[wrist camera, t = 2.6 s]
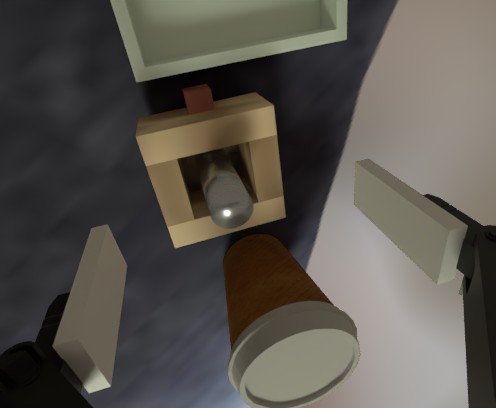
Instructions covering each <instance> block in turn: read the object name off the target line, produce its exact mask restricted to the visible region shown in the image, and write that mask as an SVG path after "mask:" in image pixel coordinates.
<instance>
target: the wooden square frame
mask: <svg viewBox="0 0 496 408" xmlns="http://www.w3.org/2000/svg"><path fill="white" fill-rule="evenodd" d="M182 91H183V95H184V99H185V103H186V106H187V107H186V108H182V109H177V110H172V111H168V112H163V113H159V114H154V115H150V116H145V117H141V118H138V125H137V131H136V139H137V142H138V145H139V148H140V151H141V153H142V156H143V159H144V162H145V165H146V167H147V170H148V173H149V176H150V179H151V182H152V184H153V187H154V190H155V193H156V196H157V199H158V201H159V204H160V207H161V210H162V213H163V215H164V218H165V221H166V224H167V227H168V230H169V232H170V235H171V238H172V241H173V244H174V247H175V248H178V247H181V246H185V245H189V244H192V243H196V242H199V241H203V240H207V239H210V238H214V237H217V236H221V235H225V234H228V233H232V232H235V231H239V230H242V229H246V228H250V227H253V226H257V225H260V224H264V223H268V222H271V221H275V220H278V219H282V218H286V214H285V205H284V195H283V186H282V177H281V168H280V158H279V149H278V140H277V131H276V122H275V112H274V105H273V104H271V103H270V102H268V101H267V100H266V99H264V98H263V97H261V96H260V95H259V94H257V93H256V92H254V93H250V94H245V95H241V96H236V97H232V98H227V99H223V100H218V101H213V98H212V93H211V89H210V88H209V87H208V85H207V84H203V85H198V86H193V87H189V88H184V89H182ZM236 144H238V145H239V150H240V156H241V162H242V167H243V173H244V178H243V179H241V181H242V183H243V185H244V187H245V188H246V190H247V192H248V194H249V196H250V198H251V199H252V202H253V213H252V215H251V217H250V218H249V220H248V221H247V222H246V223H245V224H243V225H241V226H239V227H237V228H233V229H225V228H221V227H219V226H217V225H216V224H215V223H214V222H213V221H212V219H211V217H210V213H209V210H208V206H207V203H206V199H205V196H204V192H203V189H200V190H196V191H192V192H189V190H188V187H187V183H186V180H185V176H184V173H183V169H182V166H181V162H180V159H179V158H182V157H187V156H191V155H195V154H199V153H203V152H207V151H212V150H216V149H220V148H224V147H228V146H232V145H236Z"/></svg>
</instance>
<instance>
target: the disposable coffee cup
mask: <svg viewBox="0 0 496 408" xmlns="http://www.w3.org/2000/svg"><path fill="white" fill-rule="evenodd" d="M223 269H224V278H225V289H226V300H227V311H228V322H229V333H230V343H231V354H230V360H229V364H228V375H229V379H230V382H231V383H232V385H233V387H234V388H235V389H236V390H238V391H239V393H240V395H241V398H242V399H243V400H244V402H245V403H246V404H247V405H249V406H250V407H252V408H301V407H303V406H306V405H309V404H311V403H313V402H316V401H318V400H320V399H322V398H323V397H325V396H326V395H328V394H330V393H331V392H333V391H334V390H335V389H337V388H338V387H339V386H340V385H341V384H343V383H344V382H345V381H346V379H347V378H348V377H349V376H350V375H351V374H352V372H353V371H354V369H355V368H356V366H357V364H358V360H359V357H360V348H359V343H358V340H357V328H356V326H355V324H354V322H353V320H352V319H351V318H350V317H349V316H348V315H347V314H346V313H345V312H343V311H341V310H339V308H337V307H335V306H334V305H333V304H332V303H331V302H330V301H329V299H328V298H327V297H326V296H325V294H324V293H323V292H322V291H321V290H320V288H319V287H318V286H317V285H316V284H315V282H314V281H313V280H312V279H311V278H310V276H308V274H307V273H306V272H305V270H304V269H303V268H302V267H301V266H300V264H299V263H298V262H297V261H296V260H295V259H294V257H293V256H292V255H291V254H290V253H289V251H288V250H287V249H286V248H285V247H284V245H283V244H282V243H281V242H280V241H279V240H278V239H277V238H275V237H273V236H271V235H267V234H254V235H249V236H247V237H244V238H242V239H240V240H239V241H237V242H236V243H235V244H233V245H232V246H231V247H230V249H229V250H228V251H227V253H226V255H225V257H224V261H223Z"/></svg>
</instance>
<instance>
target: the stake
mask: <svg viewBox="0 0 496 408" xmlns="http://www.w3.org/2000/svg"><path fill="white" fill-rule="evenodd" d="M179 159H180V162H181V166H182V169H183V173H184V176H185V180H186V183H187V187H188V190H189V192H192V191H196V190H200V189H203V192H204V196H205V199H206V203H207V206H208V210H209V213H210V217H211V219H212V221H213V222H214V223H215V224H216V225H217V226H219V227H221V228H225V229H233V228H237V227H239V226H241V225H243V224H245V223H246V222H247V221H248V220H249V218H250V217H251V215H252V213H253V202H252V199H251V198H250V196H249V194H248V192H247V190H246V188H245V187H244V185H243V183H242V181H241V179H243V178H244V173H243V167H242V162H241V156H240V150H239V145H238V144H236V145H232V146H228V147H224V148H220V149H216V150H212V151H207V152H203V153H199V154H195V155H191V156H187V157H182V158H179Z"/></svg>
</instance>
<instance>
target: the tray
mask: <svg viewBox="0 0 496 408" xmlns="http://www.w3.org/2000/svg"><path fill="white" fill-rule="evenodd" d="M110 1H111V4H112V7H113V11H114V14H115V17H116V20H117V23H118V26H119V29H120V32H121V35H122V39H123V42H124V45H125V48H126V51H127V54H128V57H129V60H130V63H131V66H132V70H133V73H134V76H135V79H136V82H142V81H146V80H151V79H156V78H161V77H166V76H171V75H176V74H181V73H186V72H190V71H195V70H200V69H205V68H210V67H215V66H220V65H225V64H229V63H234V62H239V61H244V60H249V59H254V58H259V57H264V56H269V55H273V54H278V53H283V52H288V51H293V50H298V49H303V48H308V47H313V46H317V45H322V44H327V43H332V42H337V41H342V40H347V0H110Z"/></svg>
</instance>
